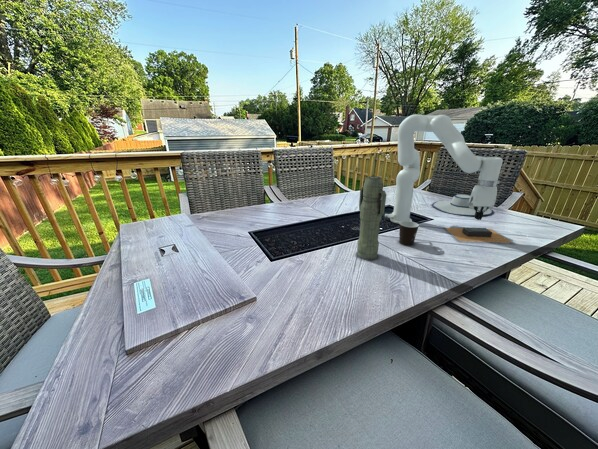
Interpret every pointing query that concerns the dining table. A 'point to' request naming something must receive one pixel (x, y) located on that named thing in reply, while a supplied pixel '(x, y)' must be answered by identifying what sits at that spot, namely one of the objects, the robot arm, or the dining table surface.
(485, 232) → the block
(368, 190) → the thermos
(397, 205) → the robot arm
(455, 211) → the sun hat
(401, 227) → the coffee mug
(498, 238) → the cork mat
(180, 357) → the dining table surface
